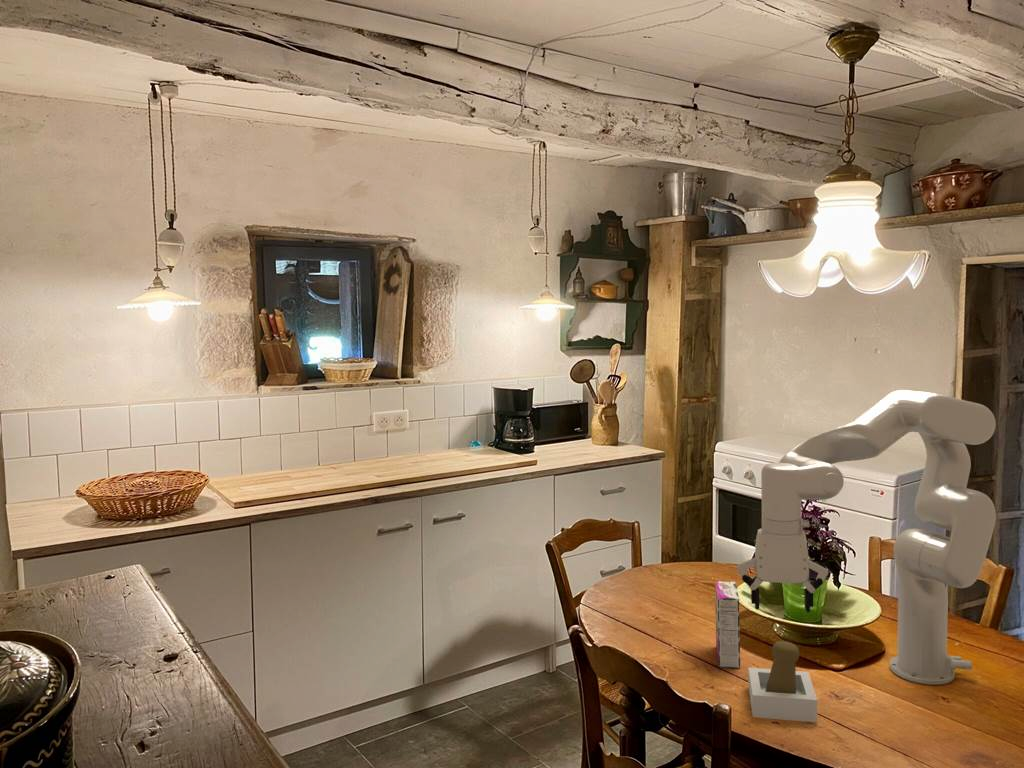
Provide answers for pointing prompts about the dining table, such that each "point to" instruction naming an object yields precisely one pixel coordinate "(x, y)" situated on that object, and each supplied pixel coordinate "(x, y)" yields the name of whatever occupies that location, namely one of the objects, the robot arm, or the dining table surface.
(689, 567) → the dining table surface
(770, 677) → the cork
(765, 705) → the open box
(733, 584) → the candy bar box
